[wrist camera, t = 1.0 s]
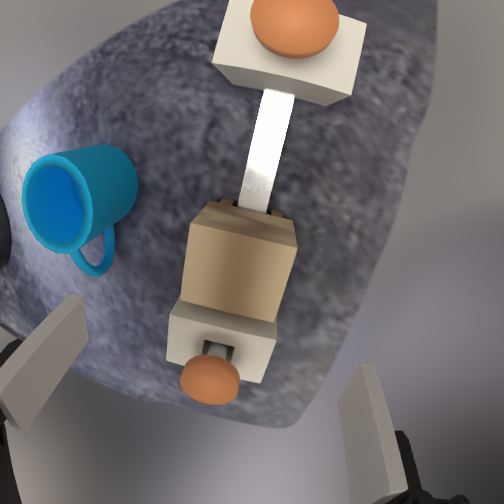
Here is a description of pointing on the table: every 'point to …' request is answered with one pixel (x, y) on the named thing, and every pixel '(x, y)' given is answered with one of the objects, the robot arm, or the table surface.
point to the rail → (265, 150)
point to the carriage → (238, 260)
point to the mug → (79, 200)
